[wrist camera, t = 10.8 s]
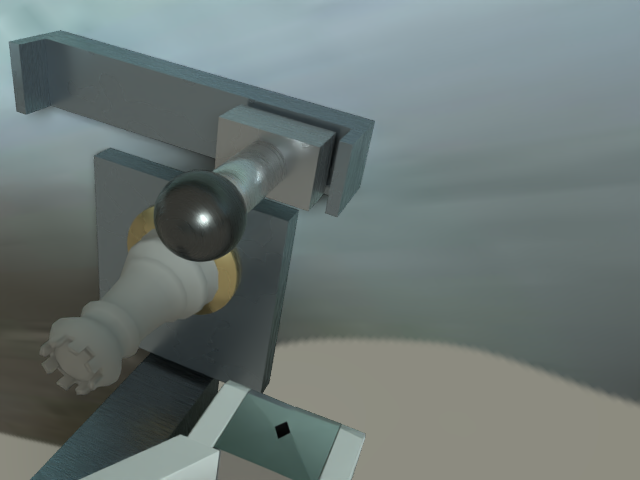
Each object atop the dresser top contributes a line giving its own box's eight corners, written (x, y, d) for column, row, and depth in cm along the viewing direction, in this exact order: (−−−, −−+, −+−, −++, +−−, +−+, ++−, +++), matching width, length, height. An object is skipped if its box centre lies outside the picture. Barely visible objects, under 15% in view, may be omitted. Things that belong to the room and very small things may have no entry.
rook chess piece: (168, 204, 27) (40, 296, 20) (240, 269, 27) (138, 381, 20) (129, 259, 29) (3, 356, 23) (195, 318, 30) (90, 432, 23)
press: (374, 120, 23) (43, 477, 8) (298, 452, 34) (95, 867, 19) (60, 30, 26) (-588, 171, 11) (82, 360, 37) (-238, 654, 22)
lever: (336, 129, 22) (243, 216, 16) (323, 194, 23) (234, 298, 17) (241, 101, 23) (115, 172, 16) (234, 166, 24) (117, 254, 18)
